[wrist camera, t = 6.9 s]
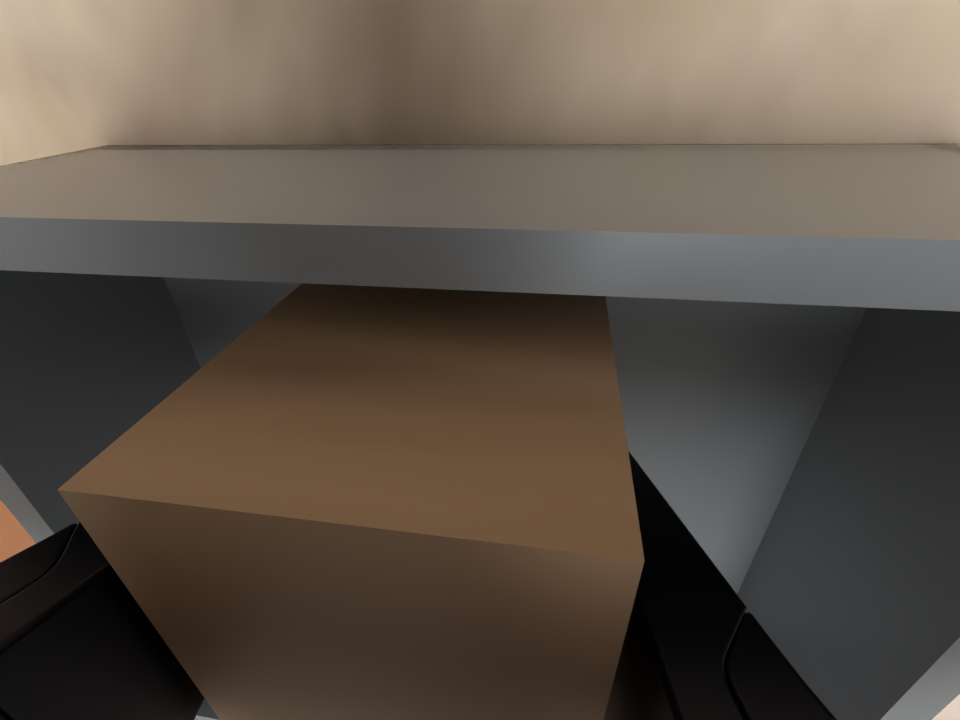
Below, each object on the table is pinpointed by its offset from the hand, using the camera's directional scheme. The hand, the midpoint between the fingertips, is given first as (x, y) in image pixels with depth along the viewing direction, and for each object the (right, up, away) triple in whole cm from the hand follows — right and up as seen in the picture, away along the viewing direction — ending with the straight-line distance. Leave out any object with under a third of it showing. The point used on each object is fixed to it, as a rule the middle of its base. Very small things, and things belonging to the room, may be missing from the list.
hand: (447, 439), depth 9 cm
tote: (+1, -1, +5) cm, 5 cm away
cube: (0, +1, +1) cm, 1 cm away
